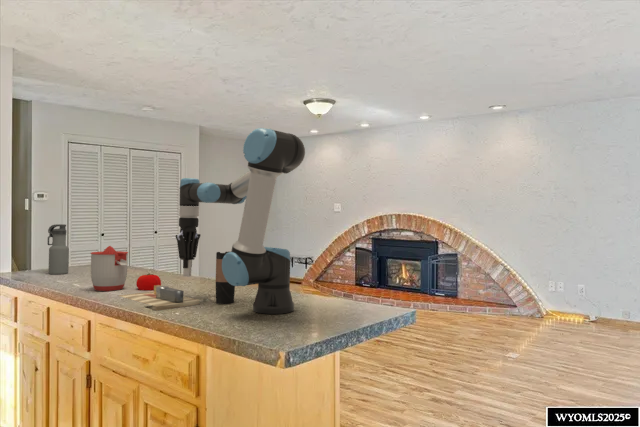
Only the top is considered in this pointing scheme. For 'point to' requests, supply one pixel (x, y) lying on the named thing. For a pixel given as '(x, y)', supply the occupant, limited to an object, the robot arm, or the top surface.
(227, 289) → the travel mug
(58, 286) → the top surface
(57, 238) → the water bottle
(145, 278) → the tomato
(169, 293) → the bar
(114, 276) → the citrus juicer
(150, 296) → the striped wooden cutting board
